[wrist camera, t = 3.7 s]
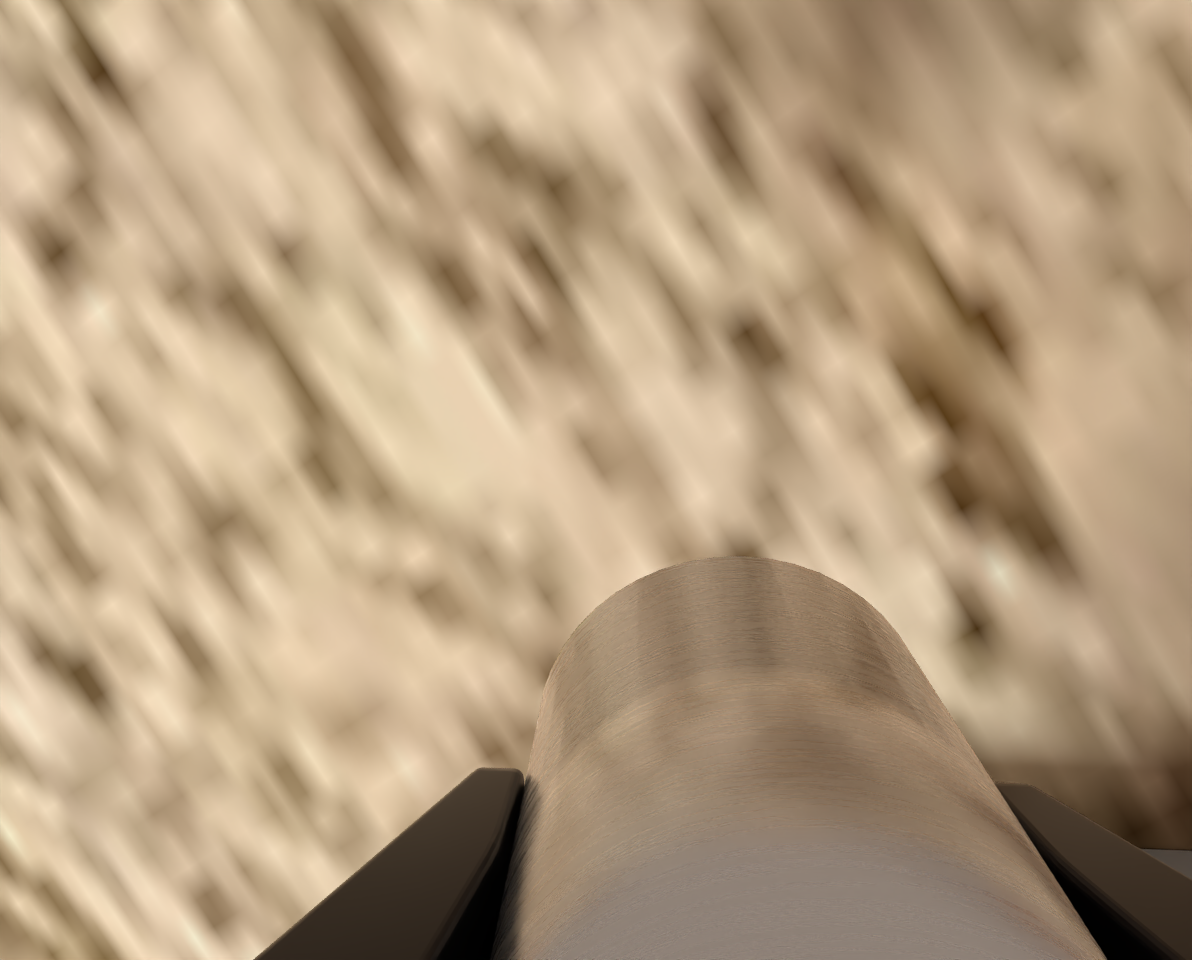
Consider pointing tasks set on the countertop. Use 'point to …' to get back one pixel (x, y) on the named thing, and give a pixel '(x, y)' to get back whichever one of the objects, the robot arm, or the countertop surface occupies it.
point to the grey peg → (763, 791)
